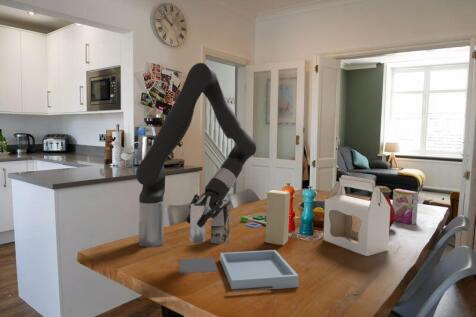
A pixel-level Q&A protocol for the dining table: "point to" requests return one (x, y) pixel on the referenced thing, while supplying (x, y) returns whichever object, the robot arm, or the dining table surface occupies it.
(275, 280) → the tray
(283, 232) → the beige rectangular block
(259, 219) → the shape sorter
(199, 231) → the bushing
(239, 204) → the dining table surface
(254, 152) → the robot arm
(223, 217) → the coffee box
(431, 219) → the dining table surface
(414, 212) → the candy bar box
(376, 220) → the gable box
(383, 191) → the bottle
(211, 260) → the mat
